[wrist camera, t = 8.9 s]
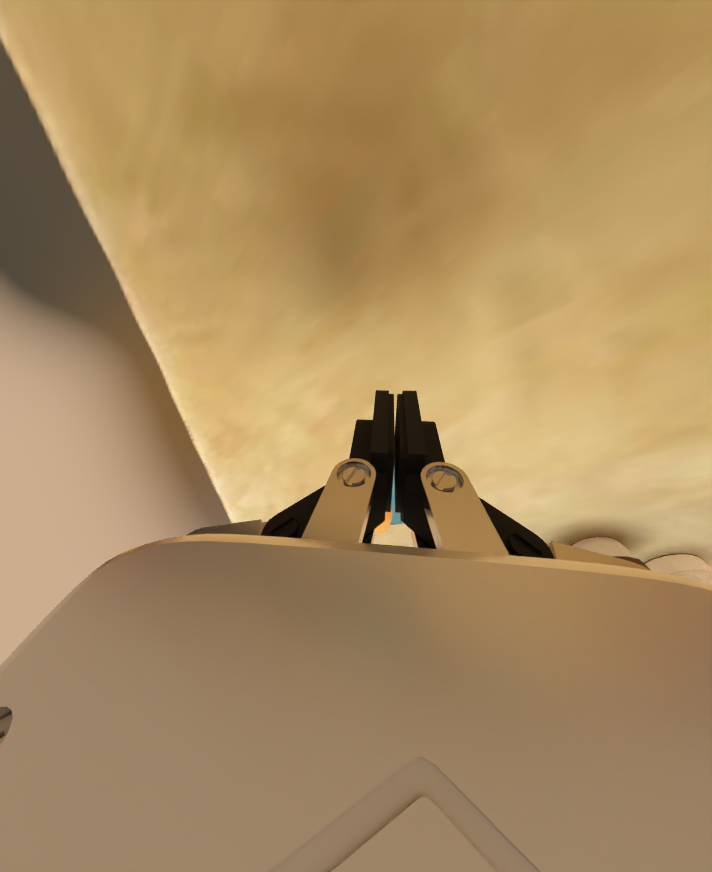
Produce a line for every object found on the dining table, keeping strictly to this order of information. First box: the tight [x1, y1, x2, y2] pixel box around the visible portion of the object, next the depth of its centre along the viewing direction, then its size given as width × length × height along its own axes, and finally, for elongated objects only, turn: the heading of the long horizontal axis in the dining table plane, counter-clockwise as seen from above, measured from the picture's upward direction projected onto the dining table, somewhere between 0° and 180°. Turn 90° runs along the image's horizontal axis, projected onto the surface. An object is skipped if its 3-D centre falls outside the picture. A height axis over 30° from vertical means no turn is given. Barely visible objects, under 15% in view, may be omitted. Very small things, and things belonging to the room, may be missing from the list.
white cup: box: [645, 554, 712, 586], centre depth 34 cm, size 8×8×10 cm
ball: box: [375, 507, 393, 535], centre depth 33 cm, size 6×6×6 cm
